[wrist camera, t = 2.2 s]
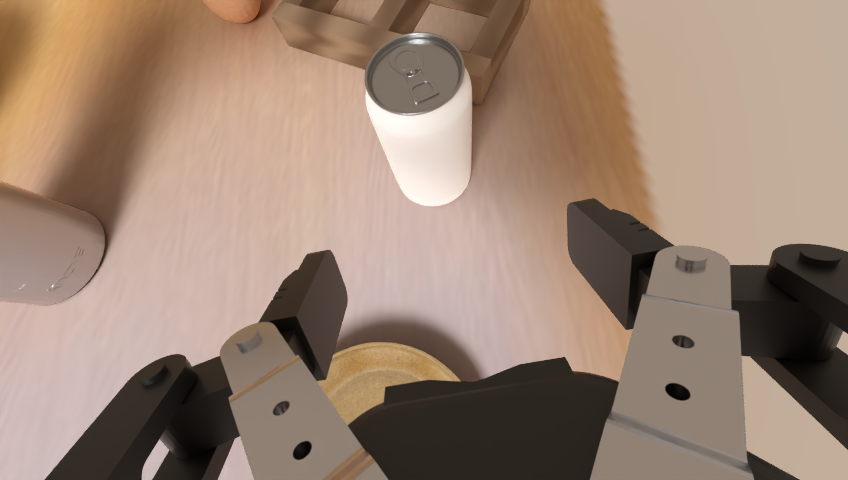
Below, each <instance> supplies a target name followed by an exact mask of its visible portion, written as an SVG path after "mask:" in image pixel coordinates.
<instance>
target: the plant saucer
mask: <svg viewBox="0 0 848 480" xmlns="http://www.w3.org/2000/svg"><path fill="white" fill-rule="evenodd" d="M423 380H443V381H460V379H459V378H458V377H457V376H456V375H455V374H454V373H453V372H452V371H451V370H450V369H449V368H448V367H446V366H445V365H444V364H443V363H441V362H440V361H439V360H437V359H436V358H434V357H433V356H431V355H429V354H427V353H425V352H424V351H421V350H419V349H416V348H413V347H411V346H406V345H403V344H399V343H391V342H369V343H364V344H359V345H355V346H352V347H349V348H346V349H344V350H341V351H339V352H337V353H335V354H333V357H332V361H331V364H330V368H329V371H328V375H327V379H326V380H321V381H317V382H318V384H319V385H320V387H321V388H322V390H323V391H324V393H325V394H326V395H327V397H328V398H329V400H330V401H331V403H332V404H333V405H334V407H335V408H336V410H337V411H338V413H339V414H340V416H341V417H342V418H343V420H344V421H345V423H346V424H347V426H348V425H349V424H350V423H351V422H352V421H353V420H354V419H356V418H357V417H358V416H359V415H361V414H362V413H364V412H365V411H367V410H369V409H370V408H372V407H374V406H376V405H378V404H380V403H383V402H384V394H385V387H387V386H393V385H399V384H405V383H411V382H417V381H423Z"/></svg>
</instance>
